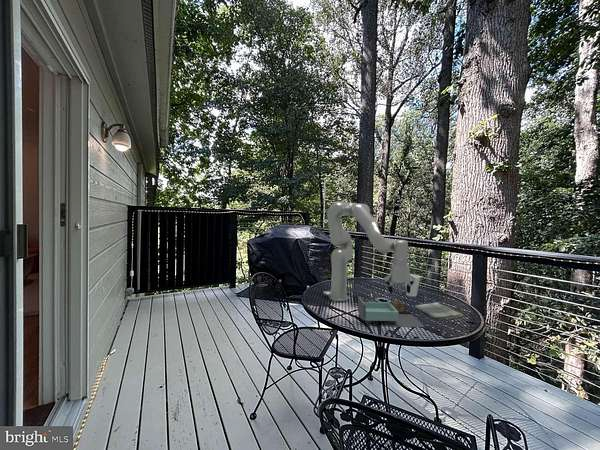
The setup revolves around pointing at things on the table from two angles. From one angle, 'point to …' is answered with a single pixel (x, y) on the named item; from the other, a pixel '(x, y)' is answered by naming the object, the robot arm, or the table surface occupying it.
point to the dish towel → (438, 311)
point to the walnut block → (398, 305)
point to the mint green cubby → (377, 311)
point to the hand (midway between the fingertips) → (399, 292)
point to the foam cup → (413, 286)
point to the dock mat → (405, 321)
